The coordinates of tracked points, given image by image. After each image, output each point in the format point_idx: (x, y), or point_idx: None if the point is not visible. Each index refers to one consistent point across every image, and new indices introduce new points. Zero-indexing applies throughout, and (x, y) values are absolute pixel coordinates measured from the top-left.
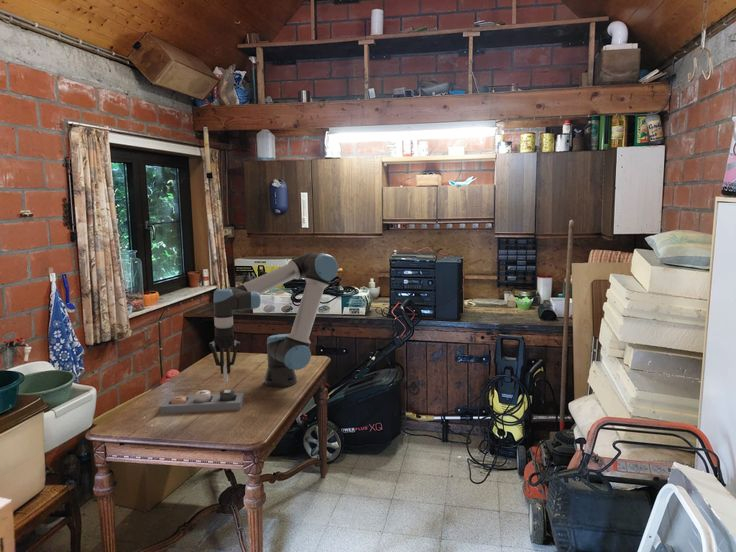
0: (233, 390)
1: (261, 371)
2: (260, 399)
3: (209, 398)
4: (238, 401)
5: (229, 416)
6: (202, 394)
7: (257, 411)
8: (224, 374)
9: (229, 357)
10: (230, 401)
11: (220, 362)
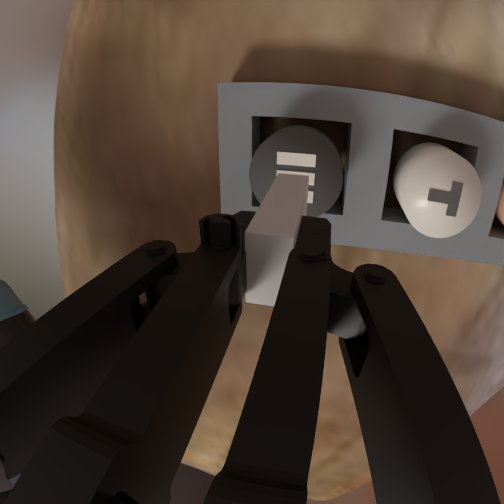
0: (256, 185)
1: (217, 425)
2: (161, 203)
3: (401, 164)
4: (229, 101)
5: (275, 11)
6: (447, 163)
7: (152, 62)
8: (292, 199)
9: (153, 327)
10: (276, 108)
11: (325, 286)
